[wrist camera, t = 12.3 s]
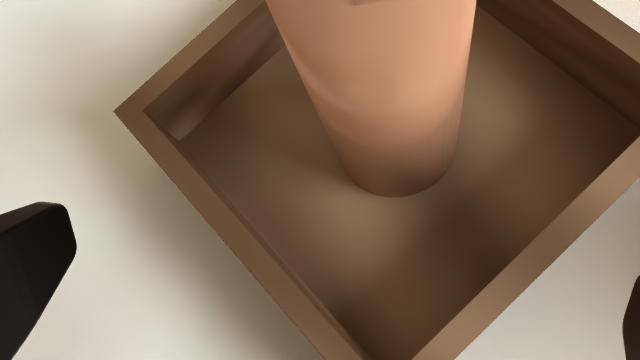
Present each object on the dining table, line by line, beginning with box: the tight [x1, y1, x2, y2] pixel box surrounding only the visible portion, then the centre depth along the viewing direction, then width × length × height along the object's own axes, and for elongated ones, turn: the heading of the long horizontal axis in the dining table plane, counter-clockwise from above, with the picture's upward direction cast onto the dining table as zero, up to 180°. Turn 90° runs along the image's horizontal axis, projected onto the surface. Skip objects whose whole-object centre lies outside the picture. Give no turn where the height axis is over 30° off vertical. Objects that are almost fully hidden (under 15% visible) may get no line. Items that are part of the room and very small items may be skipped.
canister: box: [265, 0, 476, 197], centre depth 16 cm, size 5×5×13 cm
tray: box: [113, 0, 640, 360], centre depth 21 cm, size 14×14×4 cm
